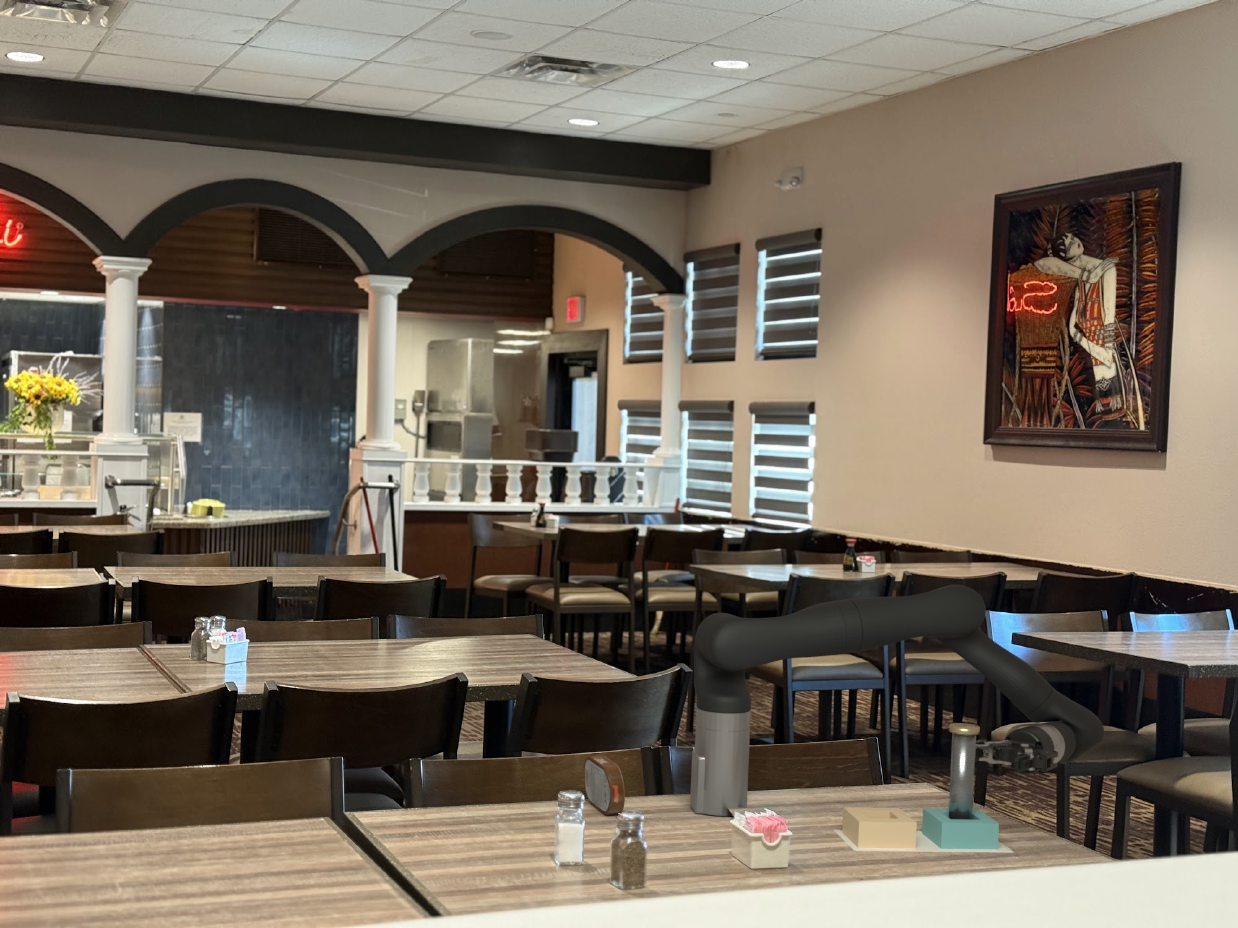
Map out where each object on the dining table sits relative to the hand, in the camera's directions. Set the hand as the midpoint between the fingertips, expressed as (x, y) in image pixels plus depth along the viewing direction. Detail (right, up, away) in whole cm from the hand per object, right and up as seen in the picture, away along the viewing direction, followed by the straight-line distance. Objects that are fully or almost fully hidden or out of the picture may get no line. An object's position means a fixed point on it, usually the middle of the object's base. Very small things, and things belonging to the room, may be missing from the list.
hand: (991, 760), depth 233 cm
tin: (-63, -11, +11) cm, 65 cm away
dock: (-13, -12, -8) cm, 19 cm away
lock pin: (-7, -11, -7) cm, 15 cm away
